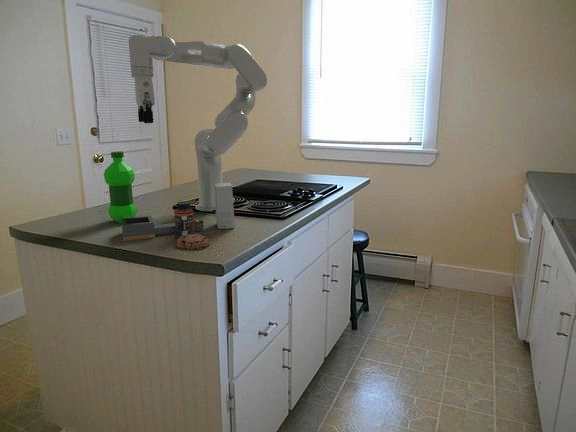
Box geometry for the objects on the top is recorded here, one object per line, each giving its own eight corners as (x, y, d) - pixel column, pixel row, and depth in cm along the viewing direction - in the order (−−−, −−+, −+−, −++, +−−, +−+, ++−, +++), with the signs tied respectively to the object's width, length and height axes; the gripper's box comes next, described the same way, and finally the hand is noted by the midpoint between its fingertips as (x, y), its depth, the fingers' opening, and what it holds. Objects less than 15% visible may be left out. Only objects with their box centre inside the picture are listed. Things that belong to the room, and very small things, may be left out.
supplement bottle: (190, 239, 145) (188, 205, 142) (172, 238, 146) (170, 204, 144) (197, 234, 151) (195, 200, 148) (180, 233, 152) (178, 200, 149)
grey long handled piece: (200, 225, 162) (199, 211, 160) (205, 232, 153) (204, 218, 152) (122, 232, 153) (121, 218, 152) (123, 241, 144) (121, 225, 143)
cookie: (199, 252, 134) (199, 242, 133) (169, 248, 138) (168, 239, 137) (217, 243, 143) (216, 233, 142) (187, 239, 147) (187, 230, 146)
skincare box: (235, 228, 158) (233, 185, 154) (217, 229, 156) (215, 186, 153) (232, 222, 166) (230, 181, 162) (215, 223, 164) (213, 182, 161)
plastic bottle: (124, 216, 175) (118, 149, 168) (144, 219, 169) (138, 151, 163) (102, 222, 166) (95, 152, 160) (122, 226, 161) (115, 154, 155)
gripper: (158, 72, 156) (161, 123, 161) (148, 74, 171) (151, 121, 175) (135, 71, 153) (139, 123, 157) (127, 73, 168) (131, 121, 172)
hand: (146, 122), depth 166 cm, fingers open, 9 cm apart
